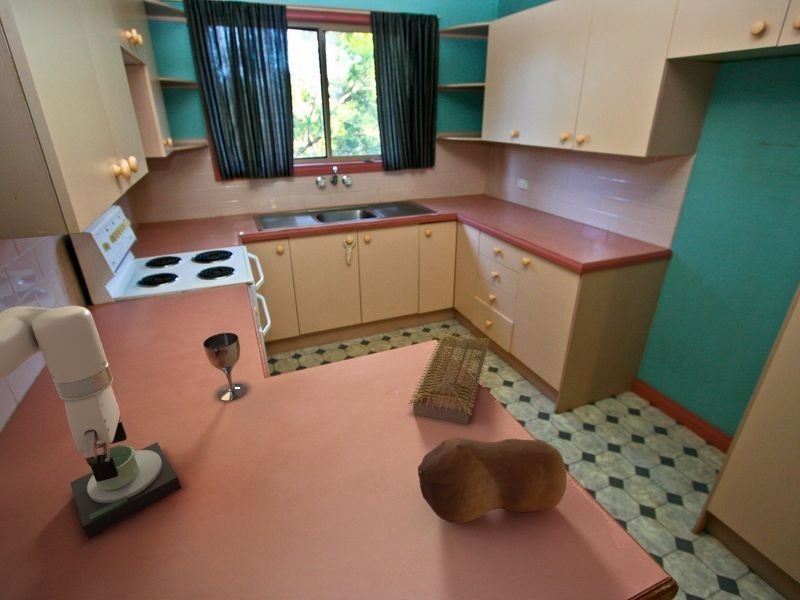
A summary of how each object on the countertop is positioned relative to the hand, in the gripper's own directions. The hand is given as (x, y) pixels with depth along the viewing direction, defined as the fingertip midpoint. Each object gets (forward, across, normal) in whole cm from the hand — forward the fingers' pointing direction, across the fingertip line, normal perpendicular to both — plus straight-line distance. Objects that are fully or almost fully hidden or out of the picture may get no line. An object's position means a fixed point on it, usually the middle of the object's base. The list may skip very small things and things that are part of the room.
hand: (113, 458), depth 77 cm
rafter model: (+7, -6, +74) cm, 75 cm away
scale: (+8, 0, +1) cm, 8 cm away
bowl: (+4, 0, 0) cm, 4 cm away
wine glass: (+8, -25, +21) cm, 33 cm away
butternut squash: (0, +26, +49) cm, 55 cm away
